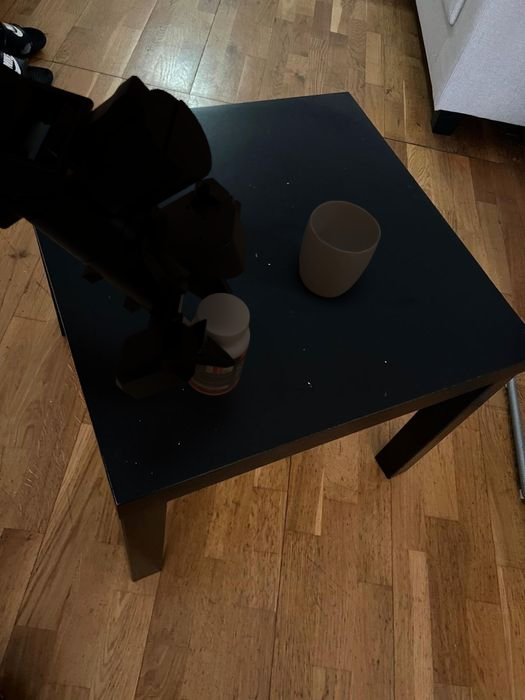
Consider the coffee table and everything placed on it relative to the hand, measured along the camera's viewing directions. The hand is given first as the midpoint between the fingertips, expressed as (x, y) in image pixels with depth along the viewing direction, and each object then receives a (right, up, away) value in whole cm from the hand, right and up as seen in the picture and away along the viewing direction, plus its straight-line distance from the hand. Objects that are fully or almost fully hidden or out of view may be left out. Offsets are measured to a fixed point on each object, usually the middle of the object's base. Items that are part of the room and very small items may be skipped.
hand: (234, 338), depth 49 cm
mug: (+12, +10, +25) cm, 29 cm away
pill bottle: (-3, -4, +5) cm, 7 cm away
